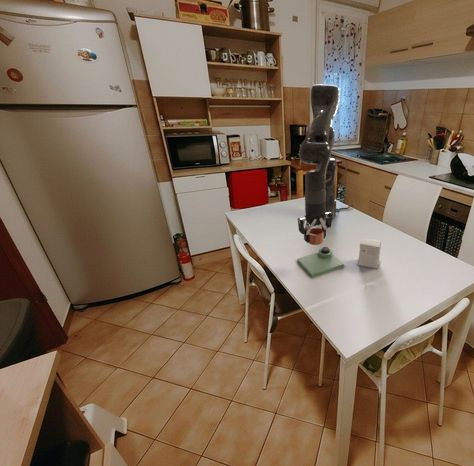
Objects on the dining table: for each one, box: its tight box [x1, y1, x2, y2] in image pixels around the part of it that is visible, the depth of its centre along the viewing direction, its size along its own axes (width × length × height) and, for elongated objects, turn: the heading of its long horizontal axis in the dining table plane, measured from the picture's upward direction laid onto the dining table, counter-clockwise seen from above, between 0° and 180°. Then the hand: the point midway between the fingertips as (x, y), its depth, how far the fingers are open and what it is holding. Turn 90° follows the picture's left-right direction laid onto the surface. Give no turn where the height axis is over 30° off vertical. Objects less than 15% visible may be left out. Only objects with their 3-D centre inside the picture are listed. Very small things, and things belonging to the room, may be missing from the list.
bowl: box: [308, 227, 325, 246], centre depth 102 cm, size 6×6×4 cm
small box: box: [358, 237, 382, 269], centre depth 109 cm, size 8×6×10 cm
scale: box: [297, 247, 345, 278], centre depth 110 cm, size 15×13×3 cm
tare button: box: [321, 246, 330, 254], centre depth 114 cm, size 3×3×2 cm
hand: (315, 239), depth 103 cm, fingers closed on bowl, 6 cm apart
